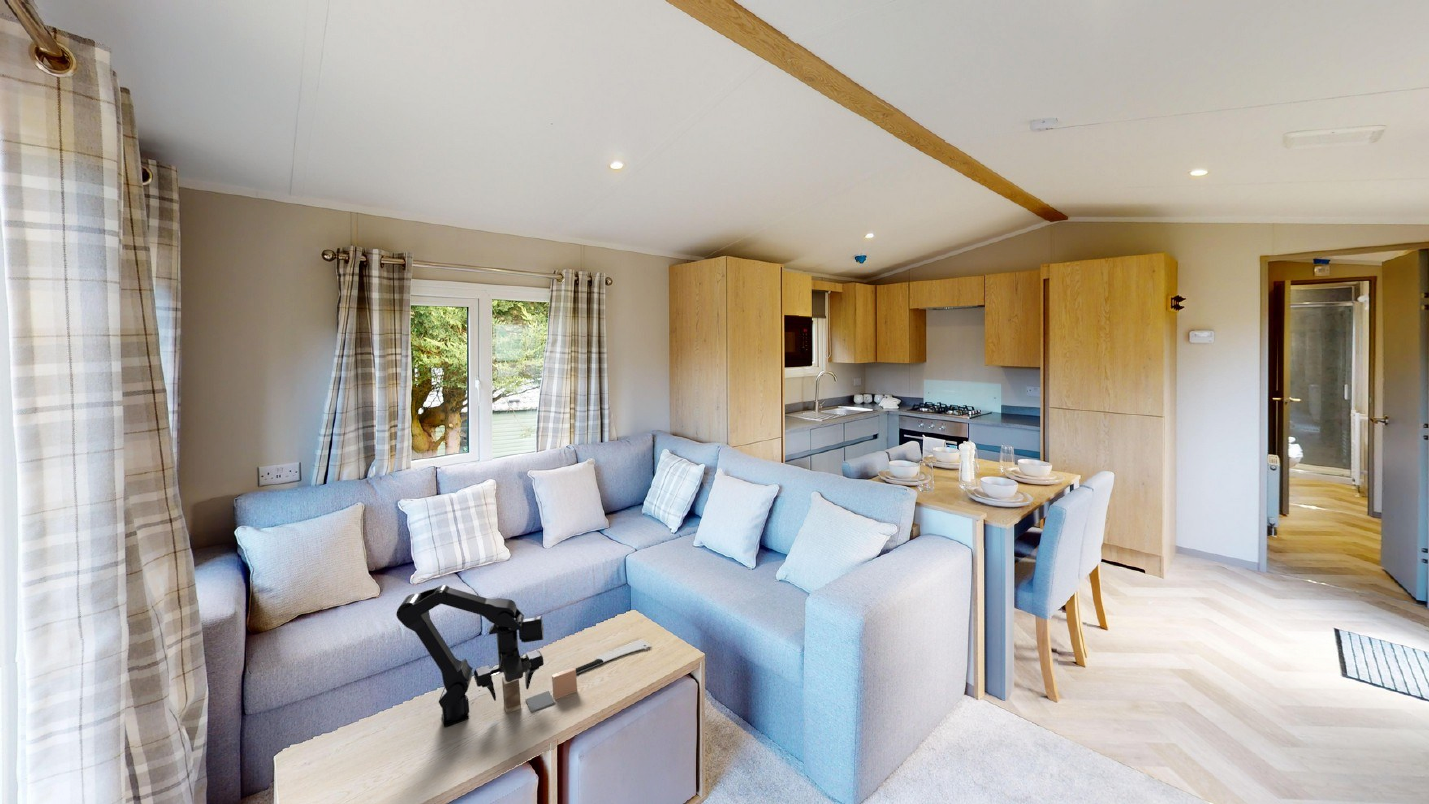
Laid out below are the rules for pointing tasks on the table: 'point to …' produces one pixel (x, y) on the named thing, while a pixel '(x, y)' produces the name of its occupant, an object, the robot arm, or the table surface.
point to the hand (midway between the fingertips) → (511, 694)
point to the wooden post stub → (511, 695)
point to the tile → (564, 683)
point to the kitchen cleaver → (614, 654)
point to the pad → (540, 701)
